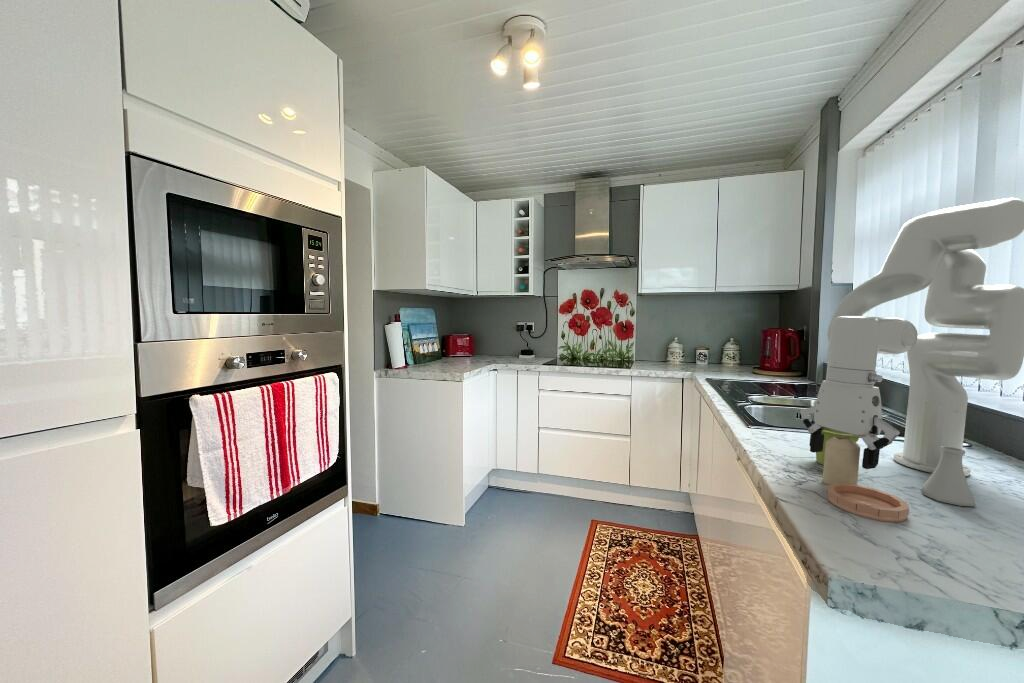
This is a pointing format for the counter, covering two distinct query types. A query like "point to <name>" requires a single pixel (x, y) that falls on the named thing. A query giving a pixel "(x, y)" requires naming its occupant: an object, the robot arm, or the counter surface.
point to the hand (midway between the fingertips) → (841, 459)
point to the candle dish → (867, 502)
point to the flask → (949, 480)
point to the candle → (841, 461)
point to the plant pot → (828, 435)
